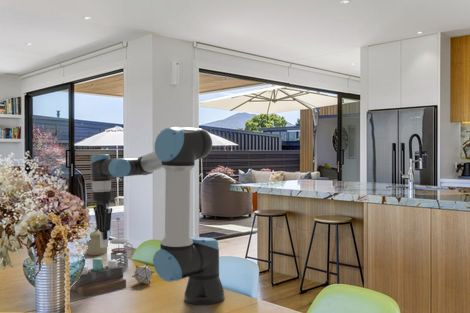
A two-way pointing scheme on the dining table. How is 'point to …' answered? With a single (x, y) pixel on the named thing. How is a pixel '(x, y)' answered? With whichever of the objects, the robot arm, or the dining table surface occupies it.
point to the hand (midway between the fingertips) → (104, 247)
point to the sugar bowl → (95, 244)
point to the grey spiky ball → (143, 274)
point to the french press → (120, 250)
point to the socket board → (100, 281)
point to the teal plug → (97, 264)
